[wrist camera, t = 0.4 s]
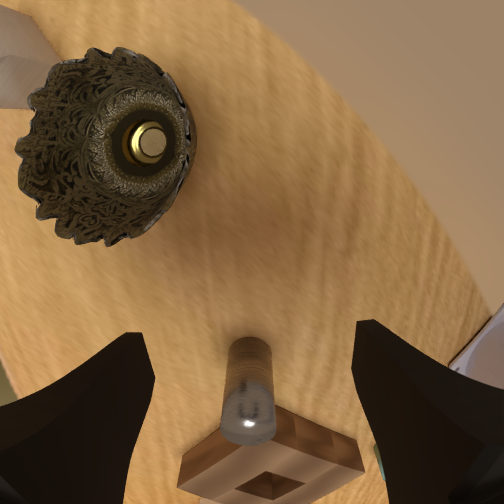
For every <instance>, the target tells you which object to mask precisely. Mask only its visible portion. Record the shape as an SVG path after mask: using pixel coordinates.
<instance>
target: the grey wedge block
mask: <svg viewBox="0 0 504 504" xmlns="http://www.w3.org/2000/svg"><path fill="white" fill-rule="evenodd" d="M59 62H62V61H61V59H60V58H59V56H58V55H57V54H56V52H55V51H54V49H53V48H52V46H51V45H50V44H49V42H48V41H47V39H46V38H45V36H44V35H43V33H42V32H41V30H40V29H39V28H38V26H37V25H36V23H35V22H34V20H33V19H32V17H30V16H28V15H25V14H23V13H20V12H18V11H15V10H13V9H10V8H7V7H5V6H2V5H0V109H29V105H28V104H27V98H28V96H29V95H30V94H31V93H32V92H33V91H34V90H35V89H37V88H40V87H44V84H45V81H46V78H47V75H48V72H49V71H50V69H51V68H52V66H53V65H55V64H57V63H59ZM33 108H34V107H33Z"/></svg>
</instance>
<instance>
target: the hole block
mask: <svg viewBox="0 0 504 504" xmlns="http://www.w3.org/2000/svg"><path fill="white" fill-rule="evenodd" d="M275 415H276V434H275V435H274V437H273V438H272V439H271V440H269V441H268V442H265V443H263V444H259V445H254V446H244V445H238V444H235V443H232V442H230V441H228V440H227V439H226V438H224V437H223V435H222V434H221V431H220V428H218V429H217V430H216V431H215V432H213V433H212V434H211V435H210V436H208V437H207V438H206V439H205V440H203V441H202V442H201V443H199V444H198V445H197V446H195V447H194V448H193V449H191V450H190V451H189V452H187V453H186V454H185V455H183V457H182V462H181V467H180V472H179V478H178V483H177V488H179V489H181V490H184V491H187V492H189V493H192V494H195V495H198V496H200V497H203V498H206V499H209V500H212V501H215V502H218V503H221V504H310V503H312V502H314V501H316V500H318V499H320V498H322V497H323V496H325V495H327V494H329V493H331V492H333V491H335V490H337V489H338V488H340V487H342V486H344V485H345V484H347V483H349V482H351V481H352V480H354V479H356V478H357V477H359V476H361V475H362V474H364V473H365V469H364V466H363V462H362V458H361V455H360V451H359V448H358V444H357V441H356V440H353V439H351V438H348V437H346V436H343V435H341V434H339V433H336V432H334V431H331V430H329V429H327V428H324V427H322V426H320V425H317V424H315V423H313V422H311V421H308V420H306V419H304V418H302V417H300V416H298V415H295V414H293V413H291V412H289V411H287V410H285V409H283V408H281V407H279V406H277V405H275Z"/></svg>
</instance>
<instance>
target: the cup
mask: <svg viewBox="0 0 504 504" xmlns="http://www.w3.org/2000/svg"><path fill="white" fill-rule="evenodd" d="M84 57H85V58H83V59H71V60H66V61H62V62H59V63H57V64H55V65H53V66H52V68H51V69H50V71H49V72H48V75H47V78H46V81H45V84H44V87H40V88H37V89H35V90H34V91H33V92H32V93H31V94H30V95H29V96H28V98H27V104H28V105H29V109H31V110H33V112H34V111H35V109H34V108H33V107H35V108H36V113H35V116H34V117H33V119H32V120H31V121H30V123H29V124H30V128H31V129H30V133H29V134H28V135H27V136H25V137H23V138H21V137H20V138H19V139H18V140H17V143H16V146H15V152H16V154H17V155H18V156H20V157H21V158H23V160H22V163H21V164H20V167H19V171H18V187H19V189H20V190H21V191H22V192H23V193H24V194H26V195H27V196H28V197H30V198H32V199H34V200H35V201H37V202H38V205H39V203H40V206H39V208H38V209H37V205H36V218H37V219H38V220H40V221H41V220H46V219H50V218H57V220H56V224H55V230H54V231H55V233H56V235H57V236H58V237H60V238H64V239H71V238H73V237H74V242H75V244H76V245H81V244H86V243H89V242H98V241H100V240H101V239H103V238H104V240H105V241H104V244H105V246H106V247H110V246H112V245H114V244H116V243H117V242H119V241H120V240H121V239H123V238H127V237H129V238H130V239H132V238H135V237H138V236H140V235H142V234H144V233H145V232H146V231H147V230H148V229H150V228H151V227H152V226H153V225H154V224H155V223H156V222H157V221H158V220H159V219H160V218H161V216H162V215H163V214H164V213H165V212H167V211H168V209H169V208H170V207H171V205H172V204H173V202H174V200H175V198H176V196H177V194H178V192H179V190H180V189H181V187H182V185H183V184H184V182H185V180H186V178H187V176H188V174H189V172H190V170H191V167H192V165H193V161H194V158H195V153H196V143H197V136H196V127H195V122H194V119H193V116H192V113H191V111H190V108H189V106H188V104H187V102H186V101H185V99H184V97H183V96H182V94H181V93H180V91H179V90H178V88H177V86H176V84H175V82H174V81H173V79H172V78H171V76H170V75H169V74H168V73H164V72H163V71H162V69H161V68H160V67H159V66H158V65H157V64H155V63H154V62H152V61H151V60H150V59H149V58H147V57H146V56H144V55H142V54H138V53H137V54H136V53H135V52H133V51H131V50H128V49H126V48H123V47H116V48H115V49H114V50H113V52H112V54H109V53H106V52H103V51H101V50H99V49H97V48H90V49H88V50H87V53H86V54H85V56H84ZM86 57H87V58H86ZM149 129H159V130H160V131H162V132H163V133H164V135H165V137H166V147H165V149H164V151H163V152H162V153H161V154H159V155H157V156H148V155H146V154H144V153H143V151H142V150H141V148H140V138H141V136H142V135H143V133H144V132H145V131H147V130H149Z"/></svg>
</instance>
